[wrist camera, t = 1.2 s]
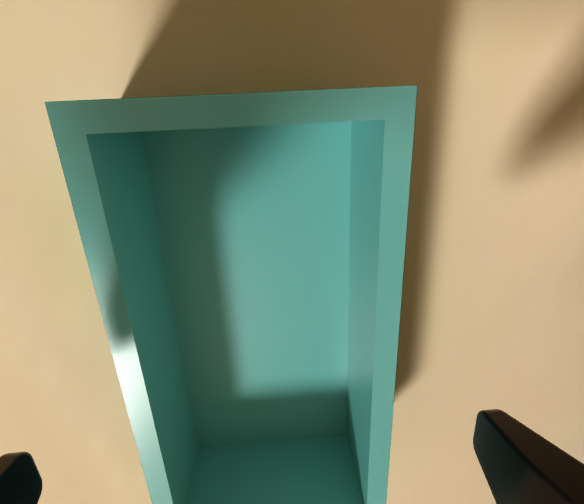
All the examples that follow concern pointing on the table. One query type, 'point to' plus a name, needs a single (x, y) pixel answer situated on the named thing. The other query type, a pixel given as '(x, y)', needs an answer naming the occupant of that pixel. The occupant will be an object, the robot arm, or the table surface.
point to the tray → (249, 283)
